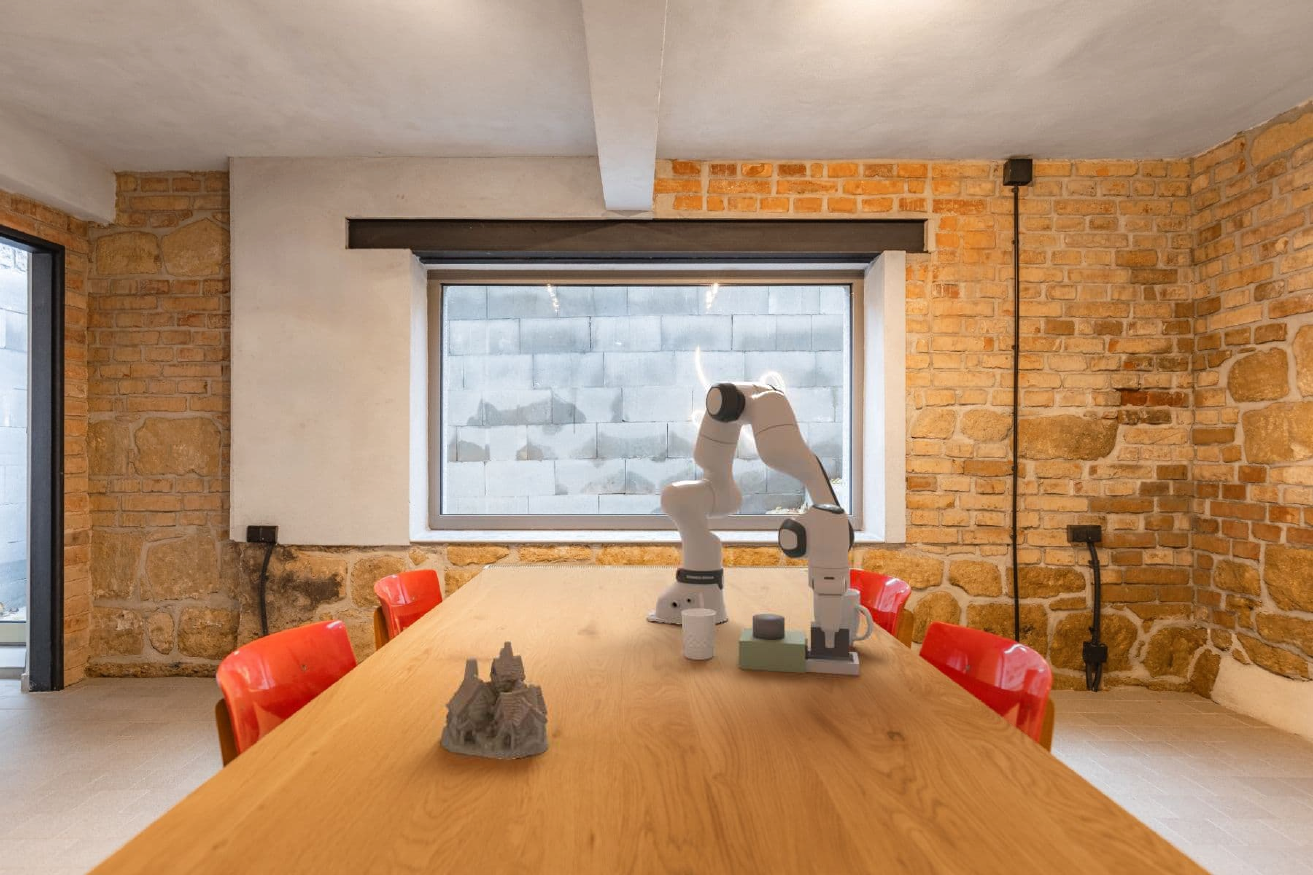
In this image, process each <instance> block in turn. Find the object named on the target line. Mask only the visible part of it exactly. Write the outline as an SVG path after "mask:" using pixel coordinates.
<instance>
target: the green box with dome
mask: <svg viewBox="0 0 1313 875" xmlns="http://www.w3.org/2000/svg"><path fill="white" fill-rule="evenodd" d="M785 625H786V624H785V617H784V616H783V615H781V614H780V615H779V614H774V613H759V614H755V615H752V628H751V627H750V628H746V627H745V628H744V627H743V629H742V631H741V633H740V634H741V635H740V637H739V639H738V669H740V670H741V669H742V670H754V671H756V670H757V671H769V672H770V671H771V672H781V673H782V672H785V673H786V672H787V673H797V674H798V673H800V674H806V673H819V674H820V673H821V674H834V675H836V674H837V675H848V676H849V675H850V676H860V660H859V656H858V652H856V651H849V657H835V656H818V655H811V648H810V649H808V645H809V644H808V642H809V640H808V638H807V632H806V631H803V630H802V631H801V630H786V628H785Z"/></svg>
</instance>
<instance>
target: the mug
mask: <svg viewBox="0 0 1313 875" xmlns="http://www.w3.org/2000/svg"><path fill="white" fill-rule="evenodd" d="M812 591H813V590H812ZM861 612H862V613H863V615H864V616H865V618H866V621H867V622H866V623H867V628H866V632H865V634H863V635H861V636H858V632H859V629H860V628H859V627H860V623H861ZM813 620H814V622H820V620H819V612H818V603H817V597H816V595H815V594H814V591H813ZM840 623H848V625H849V648H850V647H852V646H853V644H854V642H855V641H856V642H857V641H859V642H860V641H864V640H867V639H869V638H870V636H871V635H872V633H873V630H874V621H873V617H872V614H871V612H870V611H869V609H868V608H867V607H865V606H864V605H861V591H859V590H858V589H853V588H851V587H850V588H849V589H847V590H846V592H845V595H843V600H842V610H841V621H840Z"/></svg>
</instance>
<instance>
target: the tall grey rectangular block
mask: <svg viewBox="0 0 1313 875" xmlns="http://www.w3.org/2000/svg"><path fill="white" fill-rule="evenodd" d="M810 650H811V655H818V656H835V657H849V652H850V647H849V625H848V623H840V628H839V631H838V632H835V636H834V647H833V648H827V647H826V646H825V632H824V631H822V630H821V626H820V622H815V621H810Z"/></svg>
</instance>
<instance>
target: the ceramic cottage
mask: <svg viewBox="0 0 1313 875" xmlns="http://www.w3.org/2000/svg"><path fill="white" fill-rule="evenodd" d="M503 646H504V647H503V648H500V650H499V653H498V654H499V657H494V658H492V662H491V667H490V673H489V678H490V681H484V680H483V679H481V678H480V677H479V667H478V659H477V658H475V657H470V658H467V659H466V661H465V667H464V668H465V669H464V674H463V676H464V677H463V681H461V683H460V684H459V687H458V688H457V690H456V691H455V692H454V693H453V696H452V697H451V698H450V699H449V701H448V702H447V703H445V705H444V706H445V707H446V708H447V710H448V712H447V714H446V715H445V719H446V720H445V723H446V725H445V726H444V727H443V728H442V732H441V736H440V737H441V738H440V741H439V742H441V743H440V745H441V747H442V748H444V749H445V750H447V751H448V752H450V753H453V754H459V753H460V755H464V754H465V755H466V756H467V755H468V756H472V755H476V756H475V757H481V756H482V757H483V758H487V757H488V759H494V758H501V759H513V758H521V759H524V758H527V757H529V755H530V756H533V755H534V756H535V754H536V755H540V754H539V753H541V754H543V753H545V752H546V751H547V750H548V749H549V741H548V735H547V727H546V724H548V721H549V719H548V718H547V715H548V710H547V707H546V702H545V700H544V699H545V698H544V696H543V690H542V687H541V685H540V684H539V685H536V684H533V683H531V684H527V683H526V682H524V681H525V680H526V674H525V667H524V664H523V660H522V656H521V654H520V655H514V651H513V647H512V642H511V641H504V643H503ZM545 750H546V751H545ZM544 751H545V752H544ZM542 752H543V753H542ZM523 757H524V758H523Z"/></svg>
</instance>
